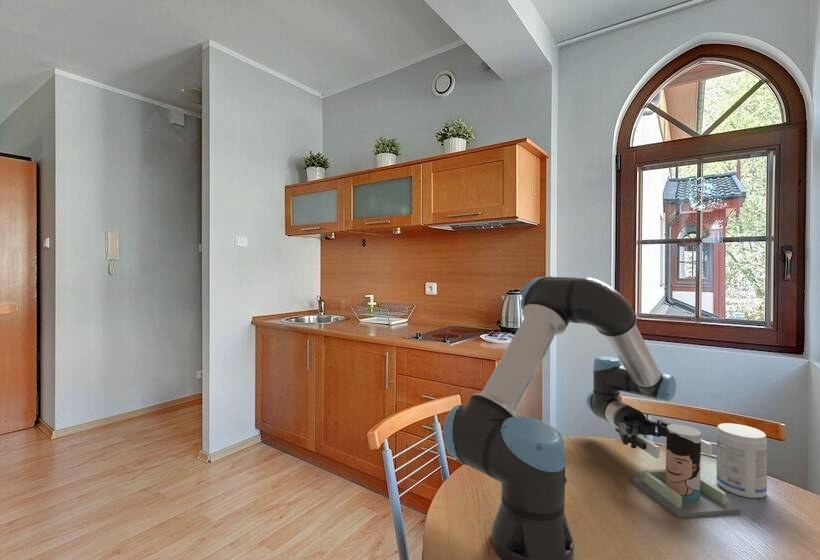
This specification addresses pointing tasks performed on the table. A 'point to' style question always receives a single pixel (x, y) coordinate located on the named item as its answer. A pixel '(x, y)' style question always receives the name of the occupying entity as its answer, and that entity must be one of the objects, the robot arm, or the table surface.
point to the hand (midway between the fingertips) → (684, 451)
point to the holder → (706, 505)
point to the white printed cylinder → (683, 460)
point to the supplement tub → (742, 460)
